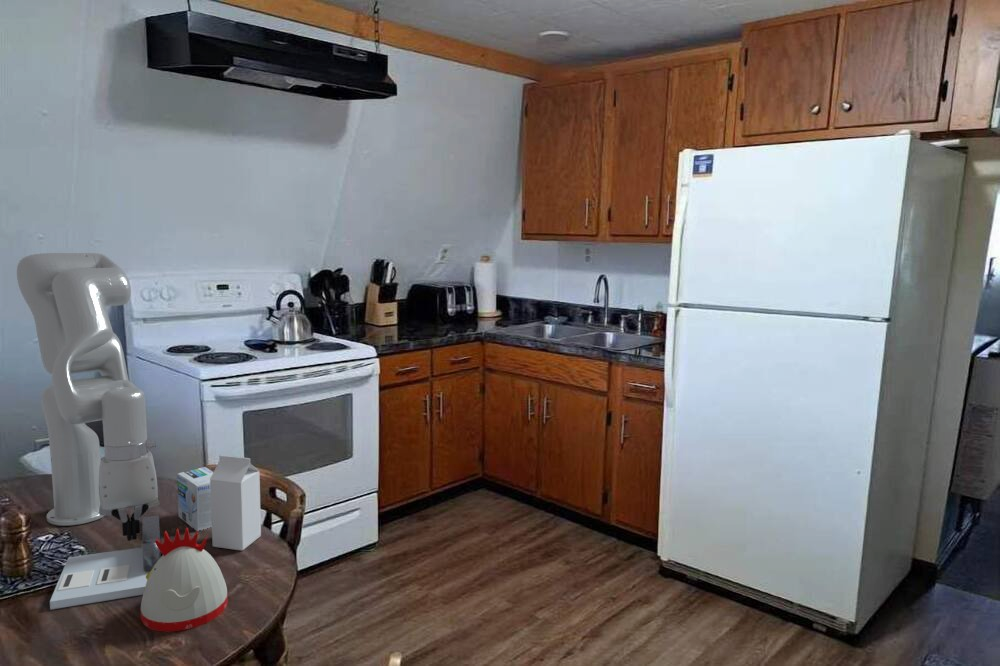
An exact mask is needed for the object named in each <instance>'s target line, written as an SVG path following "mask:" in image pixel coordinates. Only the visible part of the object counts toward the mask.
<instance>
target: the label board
mask: <svg viewBox="0 0 1000 666" xmlns="http://www.w3.org/2000/svg"><path fill="white" fill-rule="evenodd" d="M148 573H149V572H146V571H144V570H143V551H142V546H141V547H135V548H134V547H133V548H128V549H127V548H126V549H121V550H113V551H107V552H98V553H91V554H85V555H76V556H70V557H68V558H67V560H66V562H65V565H64V567H63V570H62V571H61V574H60V577H59V579H58V581H57V583H56V585H55V588H54V591H53V593H52V595H51V598H50V600H49V609H50V610H56V609H63V608H68V607H74V606H82V605H86V604H87V605H88V604H93V603H99V602H105V601H112V600H118V599H125V598H130V597H131V598H132V597H137V596H143V593H144V590H145V586H146V583H147V578H146V575H147V574H148Z"/></svg>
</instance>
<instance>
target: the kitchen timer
mask: <svg viewBox="0 0 1000 666" xmlns="http://www.w3.org/2000/svg"><path fill="white" fill-rule="evenodd" d="M174 536H175V537H174V540H171V538H170V537H169V534H168V532H167V530H165V531H164V534H163V542H161V540H160V541H158V540H157V539H156V540H155V543H156V545H157V547H158V548H159V550H160V553H161V554H162V556H161V558H160V559H159V560H158V561H157V562H156V564H155V565H154V567H153V569H152V570H151V571H150V572H149V573H148V574H147V575H146V578H147V583H146V586H145V590H144V593H143V595H142V599H141V603H140V620H141V622H142V624H143V625H144V626H146V627H147V628H148V629H150V630H155V631H157V632H171V631H172V632H181V631H180V630H182V631H186V630H190V628H191V629H194V628H197V627H200V626H203V625H204V624H208V623H209V622H212V621H213V620H214V619H216V618H218V617H219V616H220V615H221V614H222V613H224V611H225V610H226V608H227V606H228V587H227V584H226V580H225V578H224V576H223V573H222V570H221V568H220V567H219V565H218V563H217V561H216V560H215V559H214V557H213V556H212V555H211V554H210V553H209V552H208V551H207V550H205V546H206V544H207V539H208V538H207V536H206V537H204V539H203V541H202V542H201V543H199V544H198V543H197V542H198V536H199V531H195V534H194V536H193V537H192V538H191V537H190V533H189V528H188V527H187V526H186V527H185V531H184V536H183V539H181V536H180V530H179V528H176V532H175V535H174ZM224 609H225V610H224ZM172 632H171V633H172Z"/></svg>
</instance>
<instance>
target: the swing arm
mask: <svg viewBox="0 0 1000 666" xmlns="http://www.w3.org/2000/svg"><path fill="white" fill-rule="evenodd" d="M141 531H142V536H141V537H142V538H141V540H142V543H141V547H142V551H143V570H144V571H146V572H150V571H151V570H152V569H153V567H154V565H155V564H156V562H157V561H158V560H159V559H160V558H161V557H162V556H161V554H162V553H161V551H160V550H159V548H158V547H157V545H156V543H155V540H156V539H157V540H158V541H160V542H161V537H160V535H161V533H160V516H159V514H158V515H151V516H144V517H142V530H141Z"/></svg>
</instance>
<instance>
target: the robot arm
mask: <svg viewBox="0 0 1000 666" xmlns="http://www.w3.org/2000/svg"><path fill="white" fill-rule="evenodd" d="M16 279H17V284H18V288H19V290H20V293H21V295H22V297H23V299H24V301H25V302H26V304H27V306H28V308H29V309H30V312H31V313H32V316H33V319H34V323H35V331H36V334H37V336H36V337H37V342H38V346H39V351H40V357H41V360H42V361H41V362H42V364H43V368H44V369H45V370H46V372H47V373H48V374H49V375H51V384H50V385H48V386H47V387H46V388H45V389H44V390H43V391H42V393H41V398H40V402H41V409H42V412H43V415H44V419H45V423H46V428H47V433H48V434H47V435H48V441H49V454H50V465H51V466H50V467H51V479H52V480H51V483H52V494H53V495H52V497H53V508H52V509H50V511H48V513H46V521H47V522H48V523H49V524H50V525H53V526H60V527H61V526H62V527H63V526H64V527H66V526H67V527H68V526H79V525H82V524H88V523H92V522H94V521H97V520H99V519H102V518H104V517H106V516H108V517H109V516H111V517H114V518H116V519H118V520H119V521H120V522H121V525H122V527H121V529H122V536H123V537H126V540H127V542H129V541H131V540H133V541H135V540H137V539H138V538H137V537H138V536H137V534H140V533H141V529H140V520H141V518H142V516H143V515H144V514H145V513H146V512H147V511H148V510H150V509H152V508H154V507H157V506H160V504H161V503H160V499H159V497H158V496H159V493H158V492H159V491H158V489H159V488H158V479H157V471H156V465H155V459H154V457H153V454H152V451H150V450H151V449H153V448H156V447H157V445H156V440H149V439H148V427H147V413H146V412H147V411H146V410H147V408H146V396H145V392H144V391H143V390H142V389H140V388H139V387H137V386H136V385H135V384H134V383H133V382H132V381H130V380H129V375H128V371H127V370H128V369H127V365H126V359H125V353H124V350H123V345H122V342H121V340H120V338H119V337H118V335H117V334H116V333H115V332H114V331H113V327H112V324H111V321H110V317H109V314H108V311H107V308H106V307H114V306H116V307H118V306H124V305H126V304H128V303H129V301H130V299H131V297H132V296H131V295H132V287H131V283H130V281H129V278H128V276H127V275H126V273H125V271H124V270H123V269H122V268H121V267H120V266H119V265H118V264H117V263H115V262H114V261H113V260H111V259H110V258H109V257H108V256H106V255H105V254H102V253H96V252H45V253H44V252H43V253H35V254H30V255H27V256H25V257H22V258H21V259H20V260H19V261H18V264H17V266H16ZM91 372H98V373H99V374H100V375H101V376H99V375H98V376H93V377H83V378H76V379H75V378H74V379H72V376H71V375H74V374H83V373H91ZM98 421H102V433H103V445H104V446H103V449H104V456H103V457H101V450H100V439H99V436H98V434H97V433H96V432H95V431H94V430H93V429H92V428H90V427H89V426H88V425H87V423H92V422H93V423H94V422H98ZM131 507H133V509H132V513H131V515H130V516H129V514H127V510H126V508H131Z"/></svg>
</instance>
